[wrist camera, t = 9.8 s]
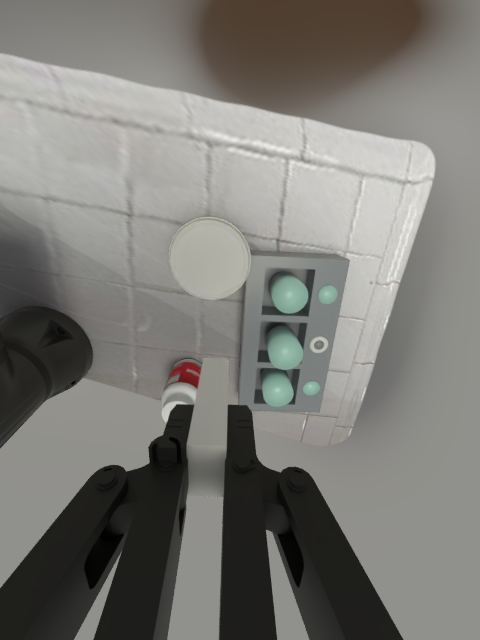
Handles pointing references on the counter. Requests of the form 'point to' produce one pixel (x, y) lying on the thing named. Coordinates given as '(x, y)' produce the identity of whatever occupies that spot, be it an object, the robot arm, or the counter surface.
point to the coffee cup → (209, 258)
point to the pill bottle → (181, 385)
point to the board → (291, 325)
